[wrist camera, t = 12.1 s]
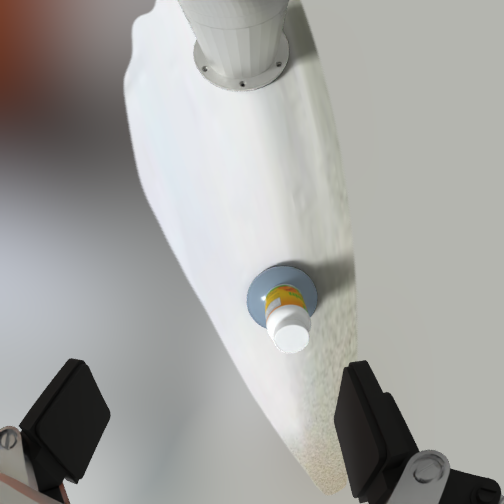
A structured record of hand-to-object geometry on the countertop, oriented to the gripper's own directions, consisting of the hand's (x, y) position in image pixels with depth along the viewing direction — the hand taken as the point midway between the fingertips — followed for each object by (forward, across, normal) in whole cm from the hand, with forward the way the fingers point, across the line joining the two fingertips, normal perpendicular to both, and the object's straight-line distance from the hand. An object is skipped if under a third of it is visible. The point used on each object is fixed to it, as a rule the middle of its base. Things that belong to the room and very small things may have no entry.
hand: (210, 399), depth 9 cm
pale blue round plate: (+30, -5, +11) cm, 33 cm away
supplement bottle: (+29, -5, +11) cm, 31 cm away
